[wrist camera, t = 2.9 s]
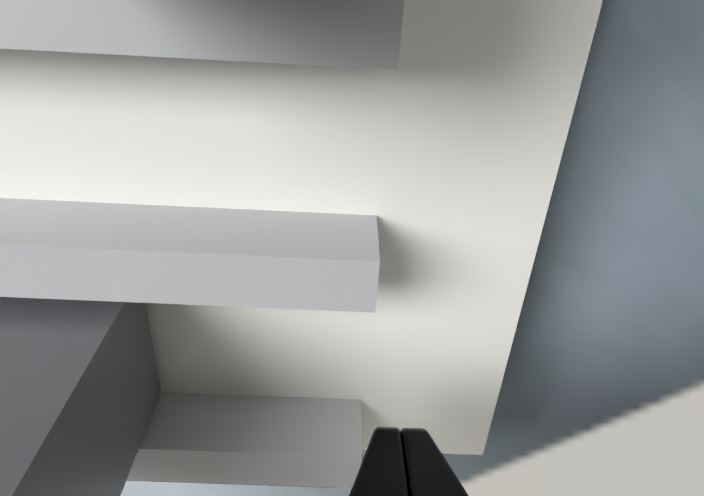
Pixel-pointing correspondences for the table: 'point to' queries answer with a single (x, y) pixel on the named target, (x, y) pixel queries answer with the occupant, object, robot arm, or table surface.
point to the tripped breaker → (73, 394)
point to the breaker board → (291, 208)
